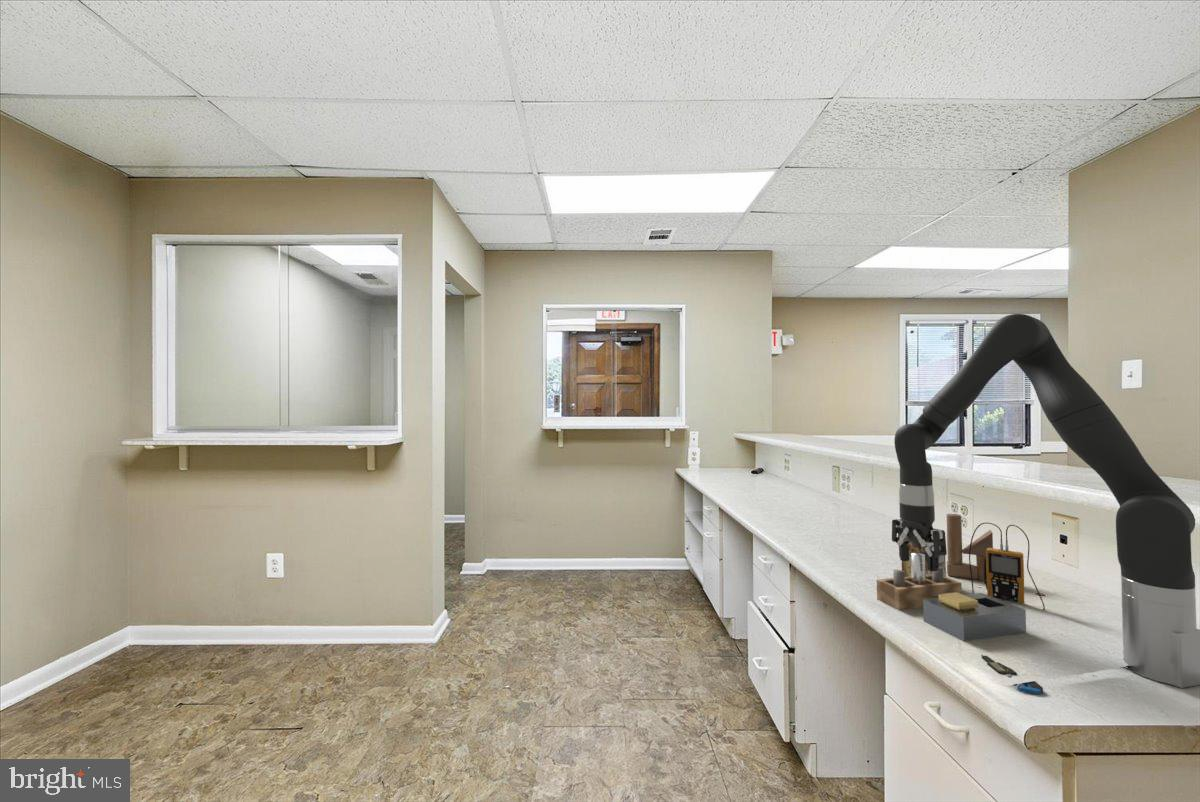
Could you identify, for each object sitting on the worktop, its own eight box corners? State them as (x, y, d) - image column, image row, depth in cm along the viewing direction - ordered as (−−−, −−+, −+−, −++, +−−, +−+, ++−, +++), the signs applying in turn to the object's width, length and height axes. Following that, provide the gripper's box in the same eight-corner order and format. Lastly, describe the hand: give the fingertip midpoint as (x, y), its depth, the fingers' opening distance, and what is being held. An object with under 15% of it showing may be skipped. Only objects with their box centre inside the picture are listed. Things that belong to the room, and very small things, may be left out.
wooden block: (994, 582, 139) (992, 519, 140) (947, 576, 145) (946, 515, 145) (992, 578, 142) (990, 516, 143) (946, 572, 148) (945, 512, 148)
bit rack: (937, 596, 130) (936, 562, 130) (962, 606, 123) (961, 570, 123) (877, 603, 126) (876, 568, 126) (898, 614, 119) (898, 577, 120)
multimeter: (966, 605, 124) (963, 526, 124) (971, 593, 132) (969, 519, 132) (1044, 621, 114) (1041, 535, 114) (1044, 608, 122) (1042, 527, 122)
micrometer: (1047, 687, 86) (1015, 686, 86) (1047, 698, 86) (1015, 696, 86) (1001, 652, 97) (973, 651, 98) (1001, 661, 97) (973, 660, 98)
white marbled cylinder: (929, 602, 124) (927, 554, 124) (919, 603, 123) (917, 555, 123) (919, 598, 126) (917, 551, 127) (909, 599, 126) (907, 552, 126)
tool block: (981, 618, 117) (981, 592, 117) (1026, 637, 107) (1025, 609, 107) (923, 625, 113) (923, 599, 113) (964, 645, 103) (963, 617, 103)
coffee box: (948, 588, 135) (946, 530, 135) (933, 592, 133) (931, 533, 133) (914, 578, 144) (913, 523, 144) (900, 582, 141) (899, 525, 141)
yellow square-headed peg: (957, 620, 112) (956, 592, 112) (978, 630, 107) (977, 600, 107) (939, 623, 111) (938, 594, 111) (959, 632, 106) (958, 602, 106)
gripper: (954, 506, 119) (956, 573, 119) (906, 496, 133) (907, 556, 133) (928, 508, 117) (930, 576, 117) (882, 497, 131) (884, 558, 131)
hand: (918, 565), depth 125 cm, fingers open, 8 cm apart
